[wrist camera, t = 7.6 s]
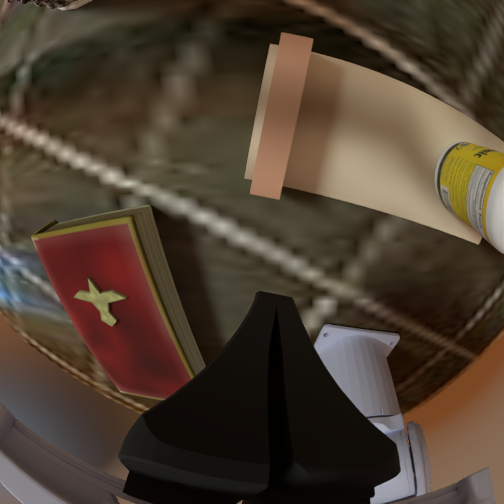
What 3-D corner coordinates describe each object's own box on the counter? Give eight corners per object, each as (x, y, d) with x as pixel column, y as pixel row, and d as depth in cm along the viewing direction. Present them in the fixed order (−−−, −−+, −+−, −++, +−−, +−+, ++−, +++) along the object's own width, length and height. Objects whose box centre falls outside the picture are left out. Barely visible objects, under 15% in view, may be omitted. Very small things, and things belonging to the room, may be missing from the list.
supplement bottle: (490, 153, 13) (582, 199, 5) (472, 217, 16) (549, 287, 8) (440, 128, 14) (546, 162, 5) (423, 201, 16) (507, 278, 8)
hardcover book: (129, 368, 31) (117, 393, 27) (55, 218, 21) (26, 238, 17) (216, 378, 29) (208, 408, 25) (156, 196, 19) (128, 218, 15)
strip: (477, 243, 17) (497, 262, 14) (244, 177, 17) (236, 191, 14) (509, 147, 13) (534, 156, 10) (270, 44, 13) (267, 30, 10)
